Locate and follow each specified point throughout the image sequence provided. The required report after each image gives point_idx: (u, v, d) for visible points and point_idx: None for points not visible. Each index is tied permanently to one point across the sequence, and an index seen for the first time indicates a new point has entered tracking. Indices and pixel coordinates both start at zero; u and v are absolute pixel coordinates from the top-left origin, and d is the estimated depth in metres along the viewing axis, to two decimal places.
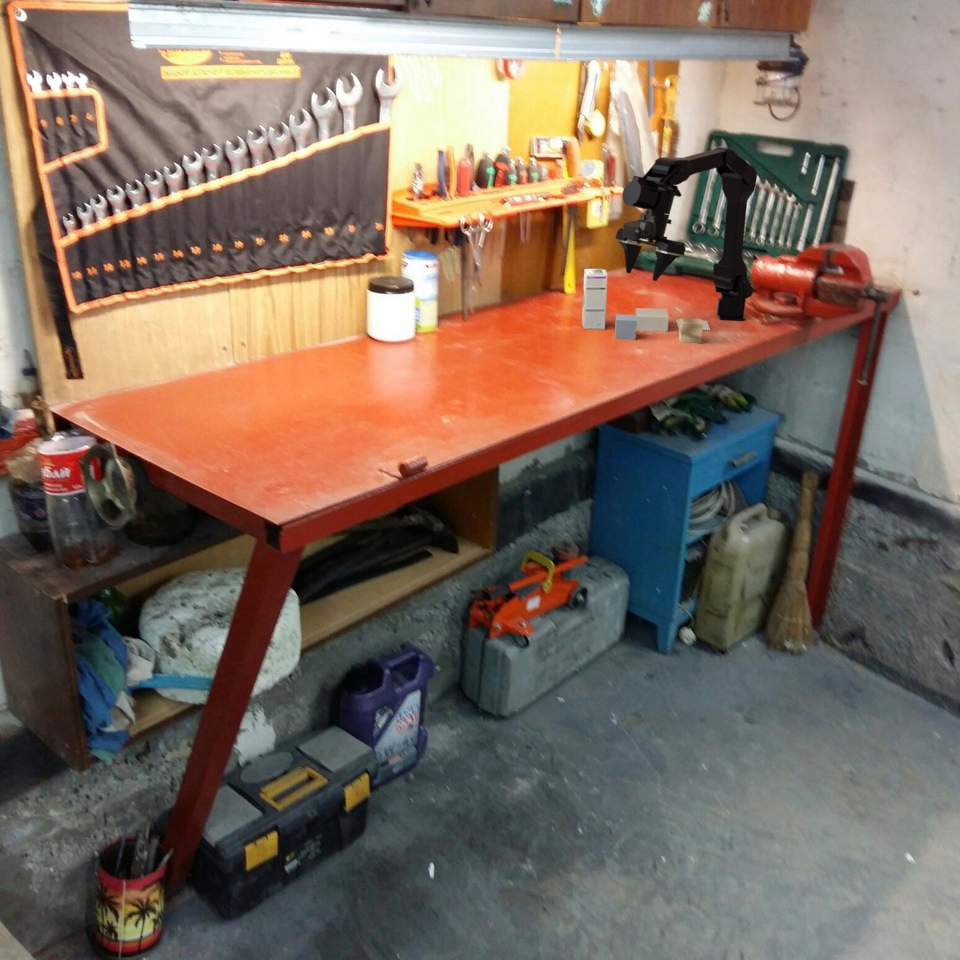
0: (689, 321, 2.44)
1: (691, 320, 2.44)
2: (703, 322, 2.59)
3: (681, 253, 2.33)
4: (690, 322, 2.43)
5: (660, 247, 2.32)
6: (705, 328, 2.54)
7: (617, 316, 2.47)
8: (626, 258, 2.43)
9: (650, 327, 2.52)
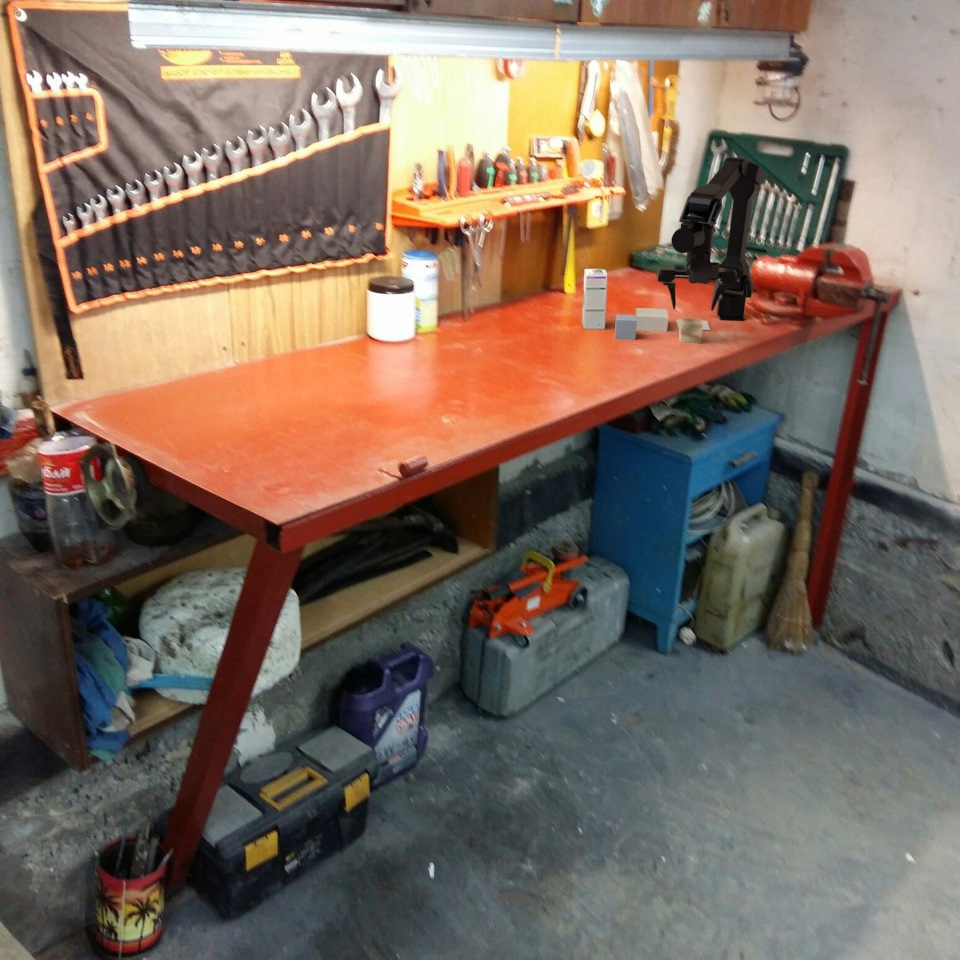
0: (689, 321, 2.44)
1: (691, 320, 2.44)
2: (703, 322, 2.59)
3: None
4: (690, 322, 2.43)
5: (726, 281, 2.36)
6: (705, 328, 2.54)
7: (617, 316, 2.47)
8: (672, 296, 2.40)
9: (649, 327, 2.52)
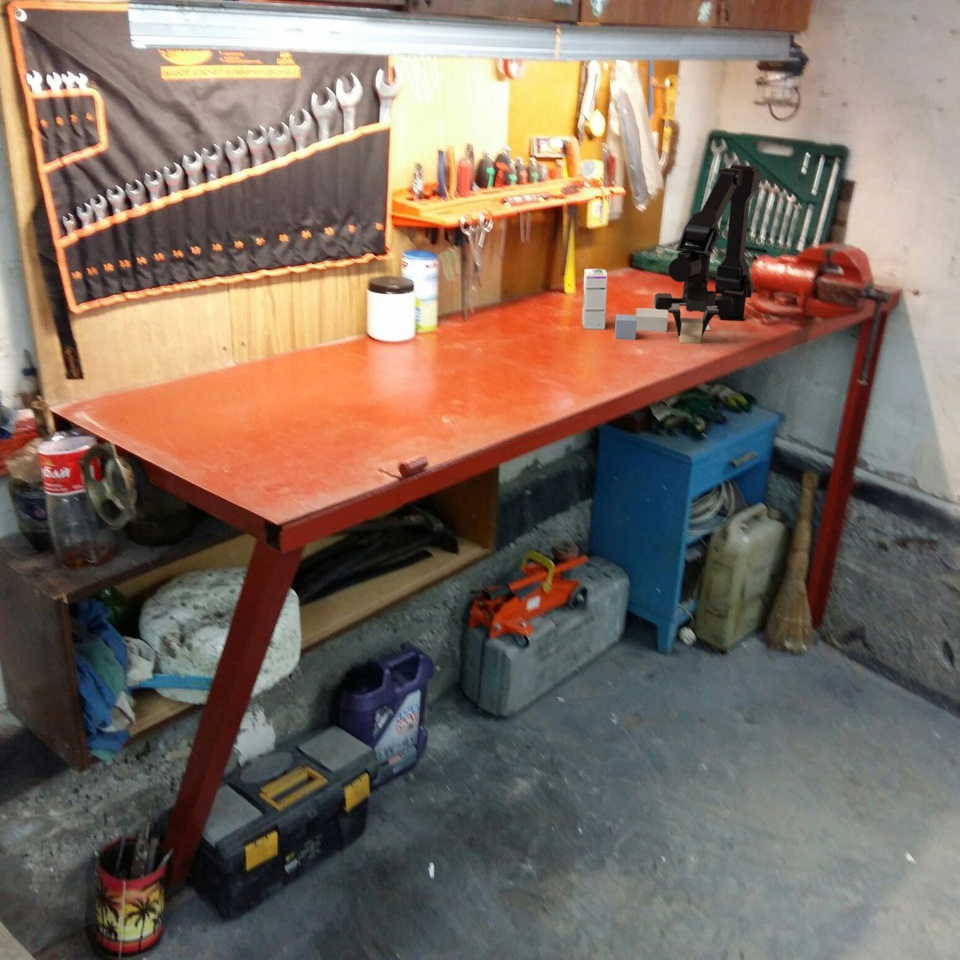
0: (689, 321, 2.43)
1: (691, 320, 2.44)
2: None
3: None
4: (690, 322, 2.42)
5: (722, 309, 2.38)
6: None
7: (617, 316, 2.47)
8: (678, 324, 2.43)
9: (649, 327, 2.52)
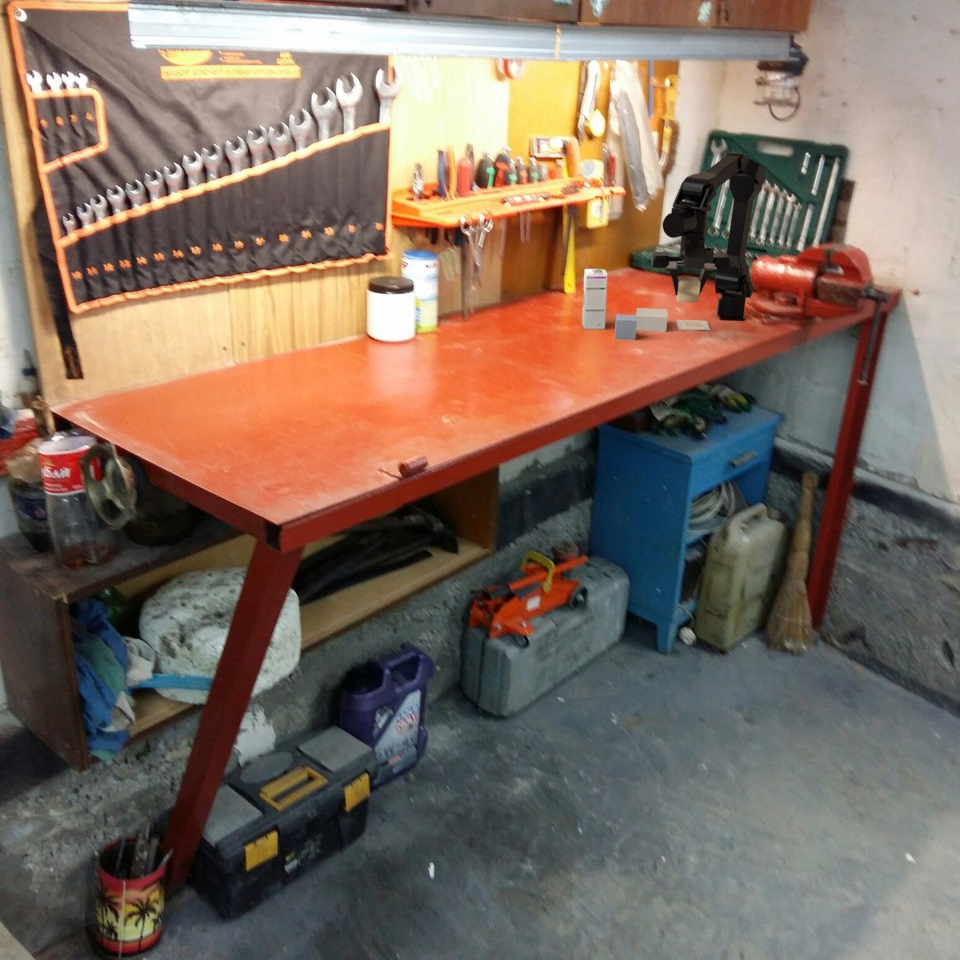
0: (686, 279, 2.41)
1: (688, 278, 2.42)
2: (703, 322, 2.59)
3: None
4: (688, 280, 2.40)
5: (720, 266, 2.36)
6: (705, 328, 2.54)
7: (617, 316, 2.47)
8: (675, 282, 2.41)
9: (648, 327, 2.52)
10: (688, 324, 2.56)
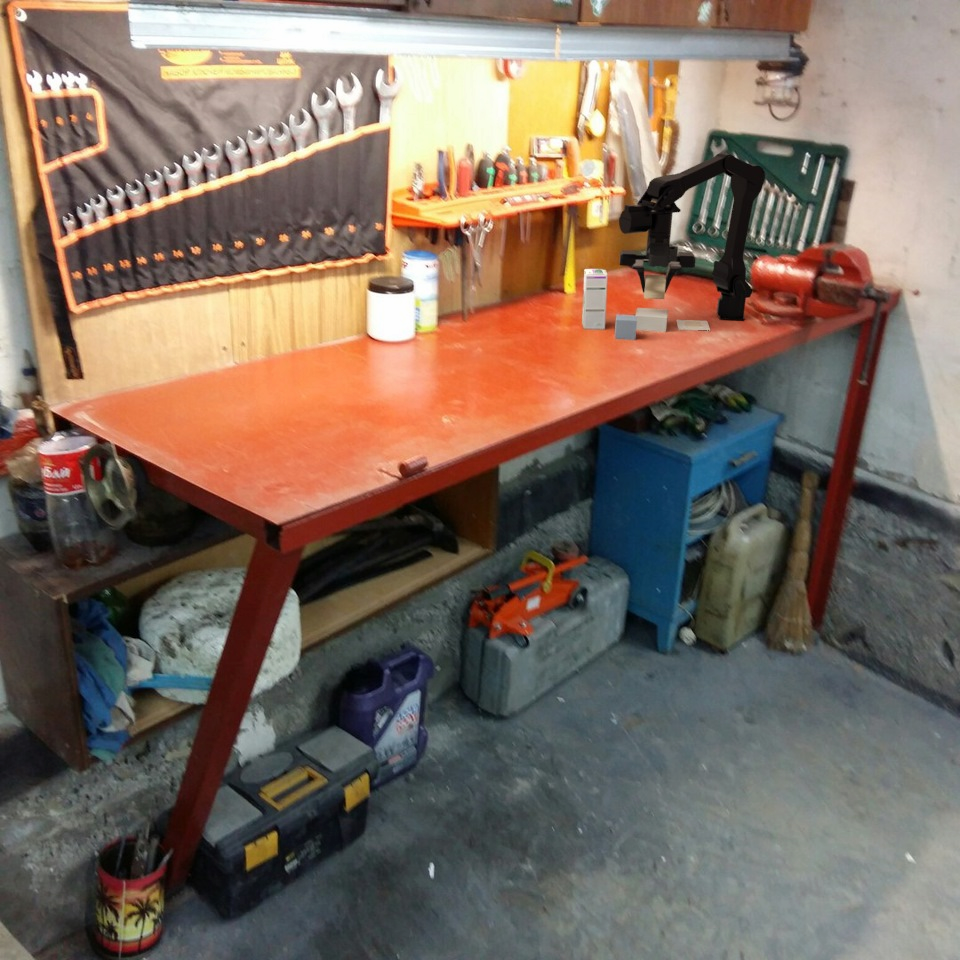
0: (653, 277, 2.51)
1: (655, 276, 2.51)
2: (703, 322, 2.59)
3: None
4: (654, 278, 2.50)
5: (684, 264, 2.46)
6: (705, 328, 2.54)
7: (617, 316, 2.47)
8: (642, 280, 2.50)
9: (648, 327, 2.52)
10: (688, 324, 2.56)
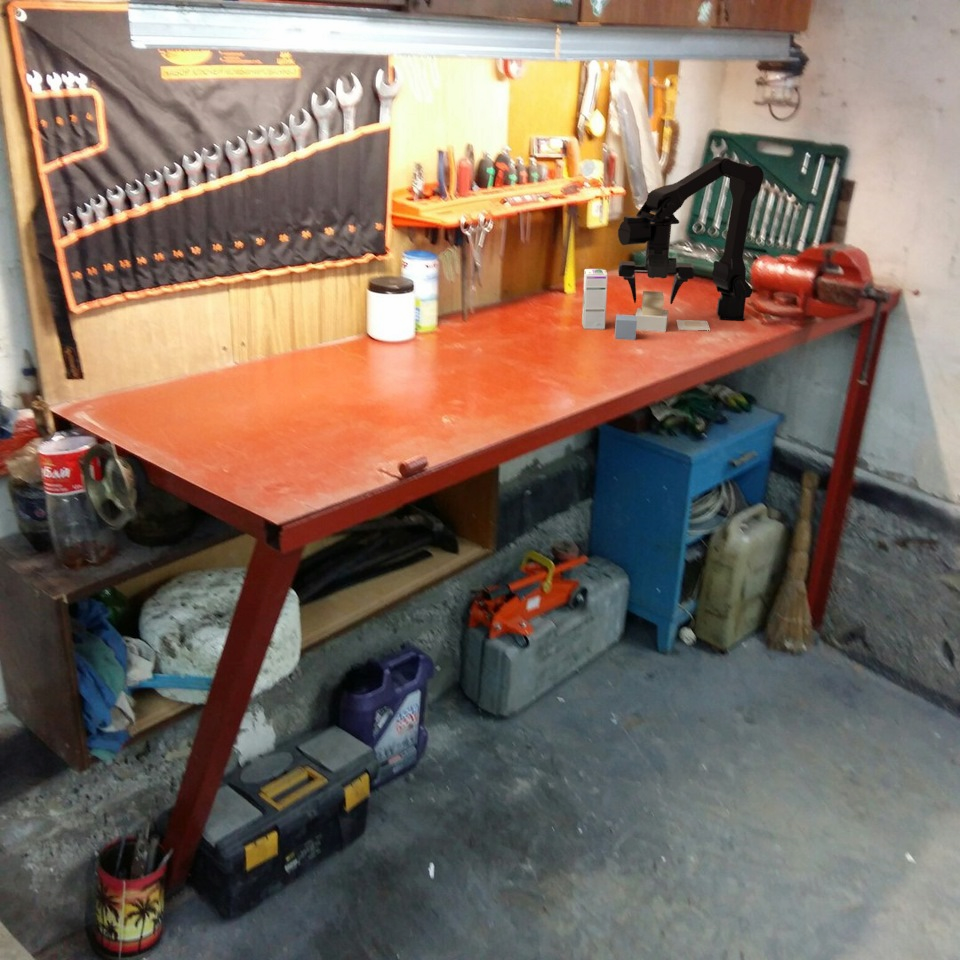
0: (651, 293, 2.53)
1: (653, 293, 2.53)
2: (703, 322, 2.59)
3: None
4: (652, 294, 2.52)
5: (683, 275, 2.47)
6: (705, 328, 2.54)
7: (617, 316, 2.47)
8: (633, 290, 2.52)
9: (648, 327, 2.52)
10: (688, 324, 2.56)
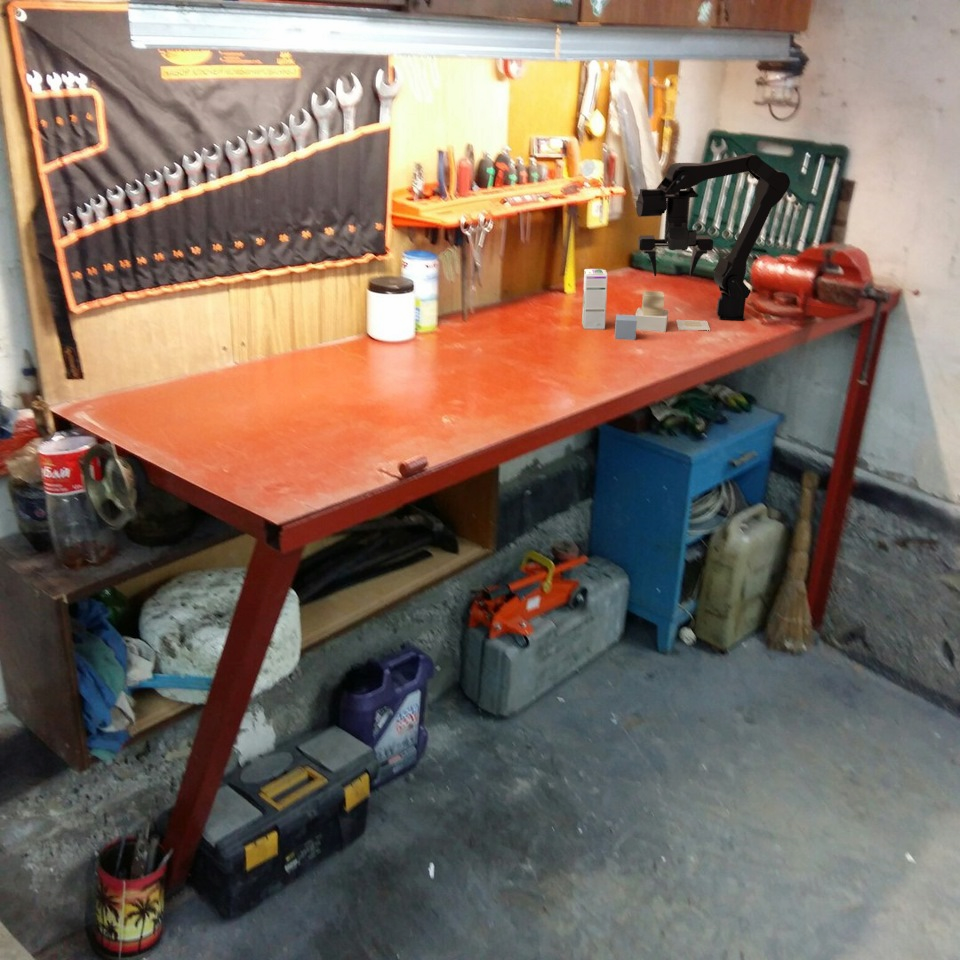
0: (651, 293, 2.52)
1: (653, 293, 2.53)
2: (703, 322, 2.59)
3: None
4: (652, 295, 2.51)
5: (703, 247, 2.51)
6: (705, 328, 2.54)
7: (617, 316, 2.47)
8: (653, 264, 2.56)
9: (648, 327, 2.53)
10: (688, 324, 2.56)
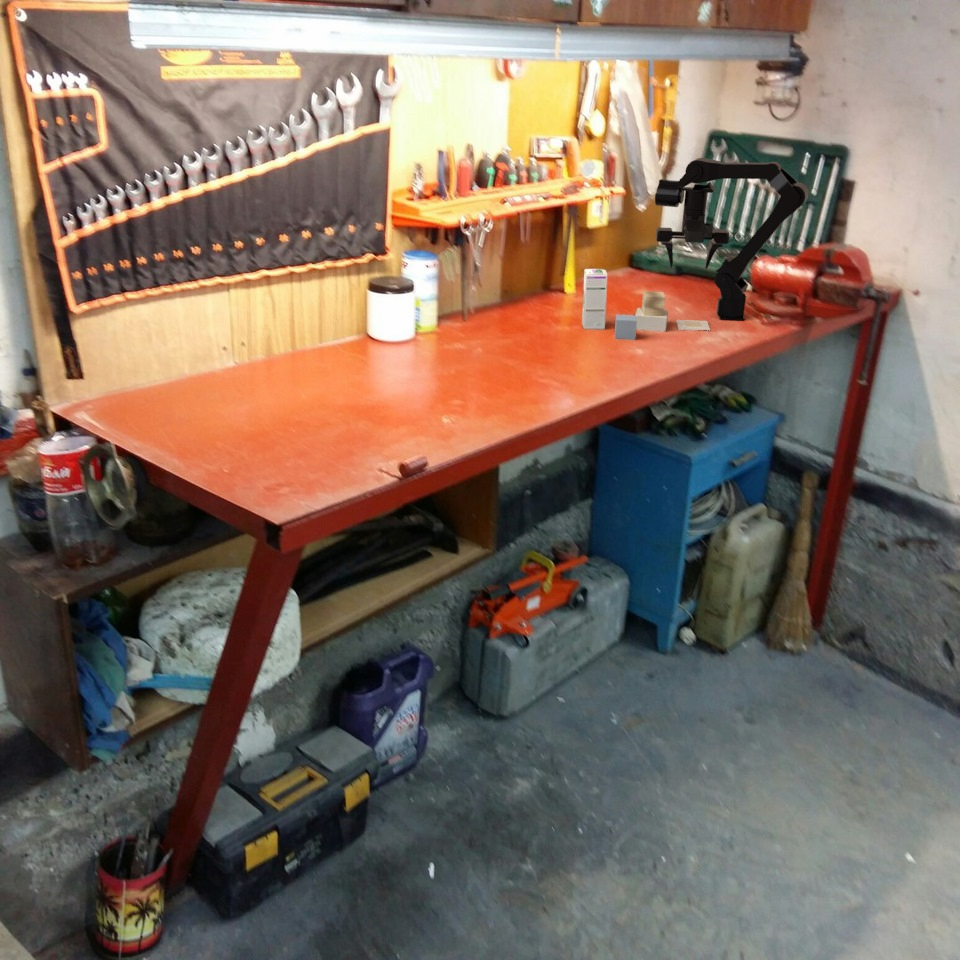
0: (652, 294, 2.52)
1: (654, 293, 2.53)
2: (703, 322, 2.59)
3: None
4: (653, 295, 2.51)
5: (718, 241, 2.58)
6: (705, 328, 2.54)
7: (617, 316, 2.47)
8: (670, 255, 2.63)
9: (648, 327, 2.53)
10: (688, 324, 2.56)
